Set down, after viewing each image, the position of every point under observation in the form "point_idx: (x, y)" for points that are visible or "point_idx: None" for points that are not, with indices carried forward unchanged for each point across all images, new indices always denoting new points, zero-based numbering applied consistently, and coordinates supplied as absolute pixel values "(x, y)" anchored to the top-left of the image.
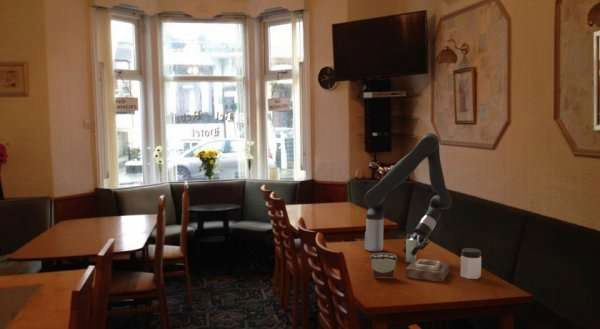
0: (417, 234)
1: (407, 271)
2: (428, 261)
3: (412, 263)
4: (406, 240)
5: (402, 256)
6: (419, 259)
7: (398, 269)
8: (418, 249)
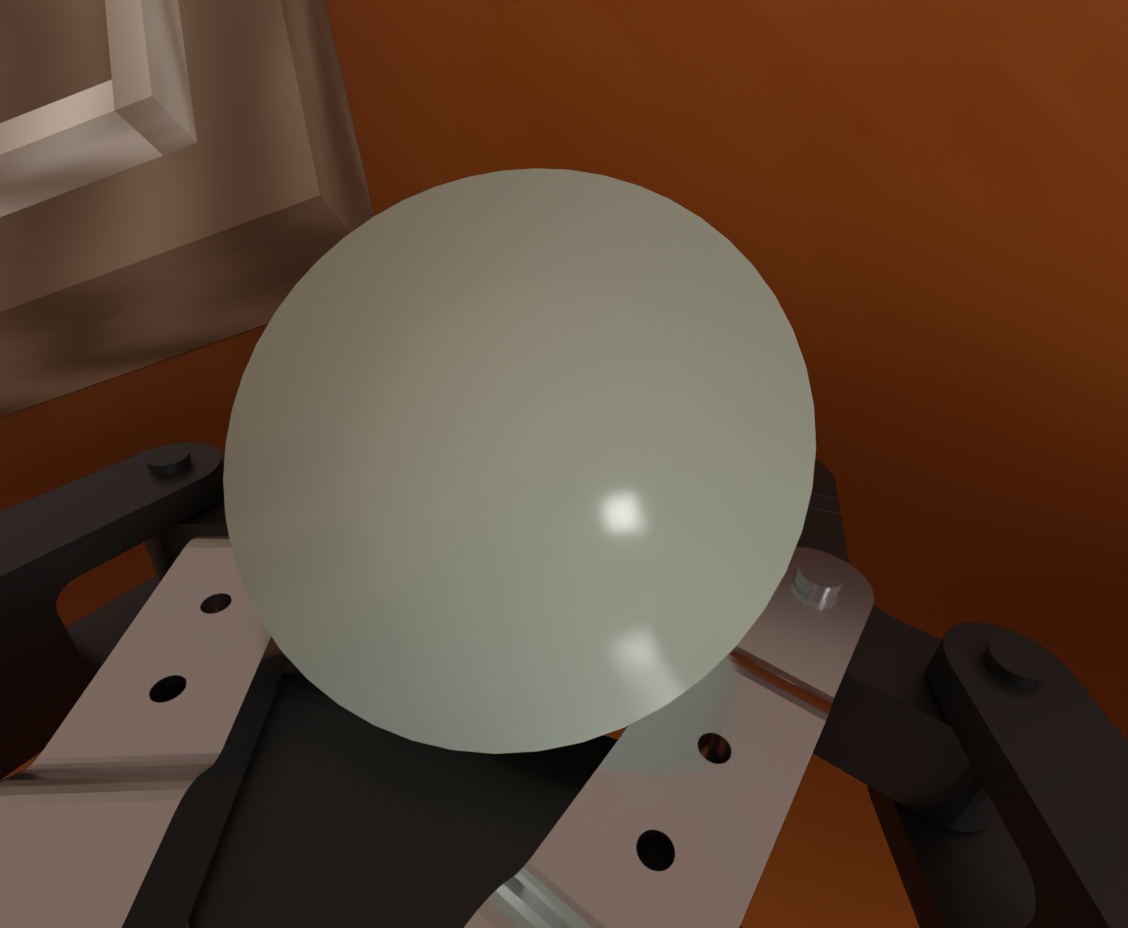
0: None
1: None
2: (4, 138)
3: (258, 11)
4: (679, 225)
5: None
6: (139, 74)
7: (534, 81)
8: None
